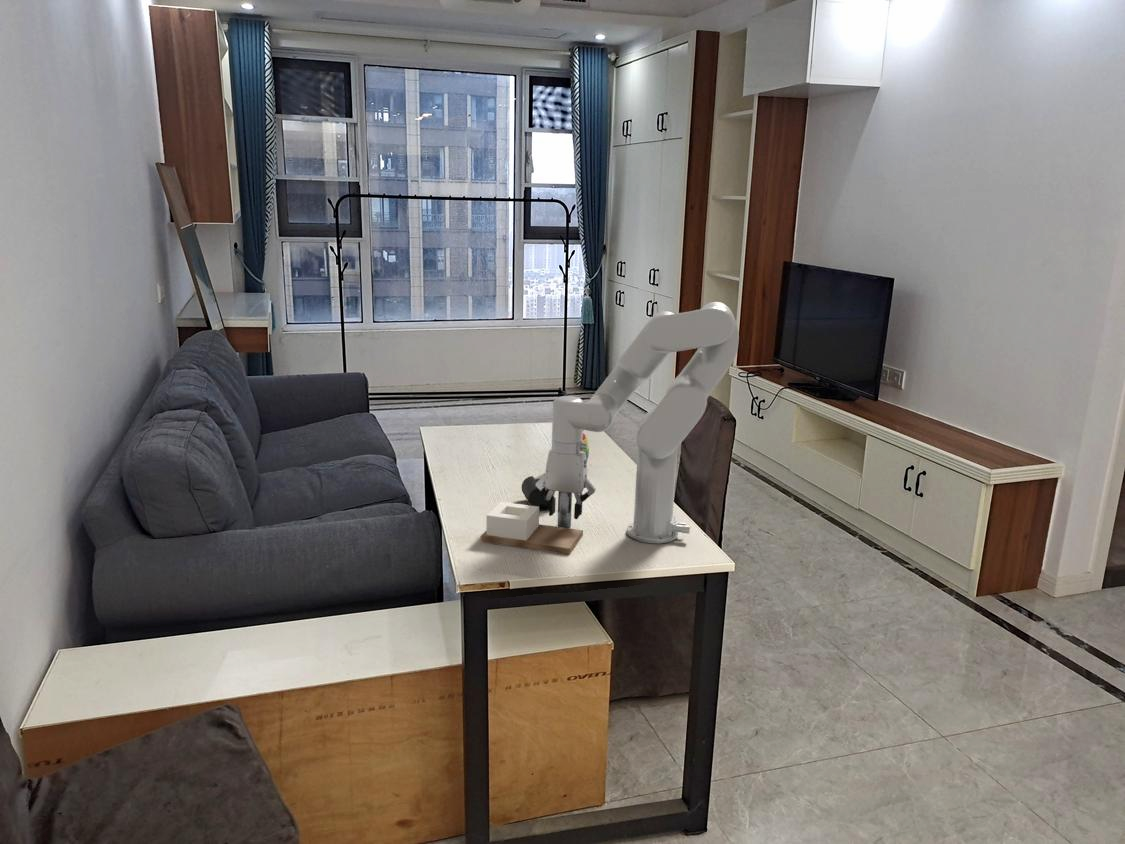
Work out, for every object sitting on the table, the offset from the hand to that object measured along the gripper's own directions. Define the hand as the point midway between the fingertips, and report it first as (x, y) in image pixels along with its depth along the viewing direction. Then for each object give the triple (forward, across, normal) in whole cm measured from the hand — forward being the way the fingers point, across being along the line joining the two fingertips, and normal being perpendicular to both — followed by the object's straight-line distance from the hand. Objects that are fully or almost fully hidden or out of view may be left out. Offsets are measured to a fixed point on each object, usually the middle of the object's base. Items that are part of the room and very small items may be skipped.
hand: (564, 514), depth 209 cm
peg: (+3, 0, 0) cm, 3 cm away
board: (+3, +5, +10) cm, 12 cm away
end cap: (+3, +11, -12) cm, 17 cm away
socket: (+2, +10, +10) cm, 15 cm away
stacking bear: (+3, +10, -44) cm, 46 cm away
